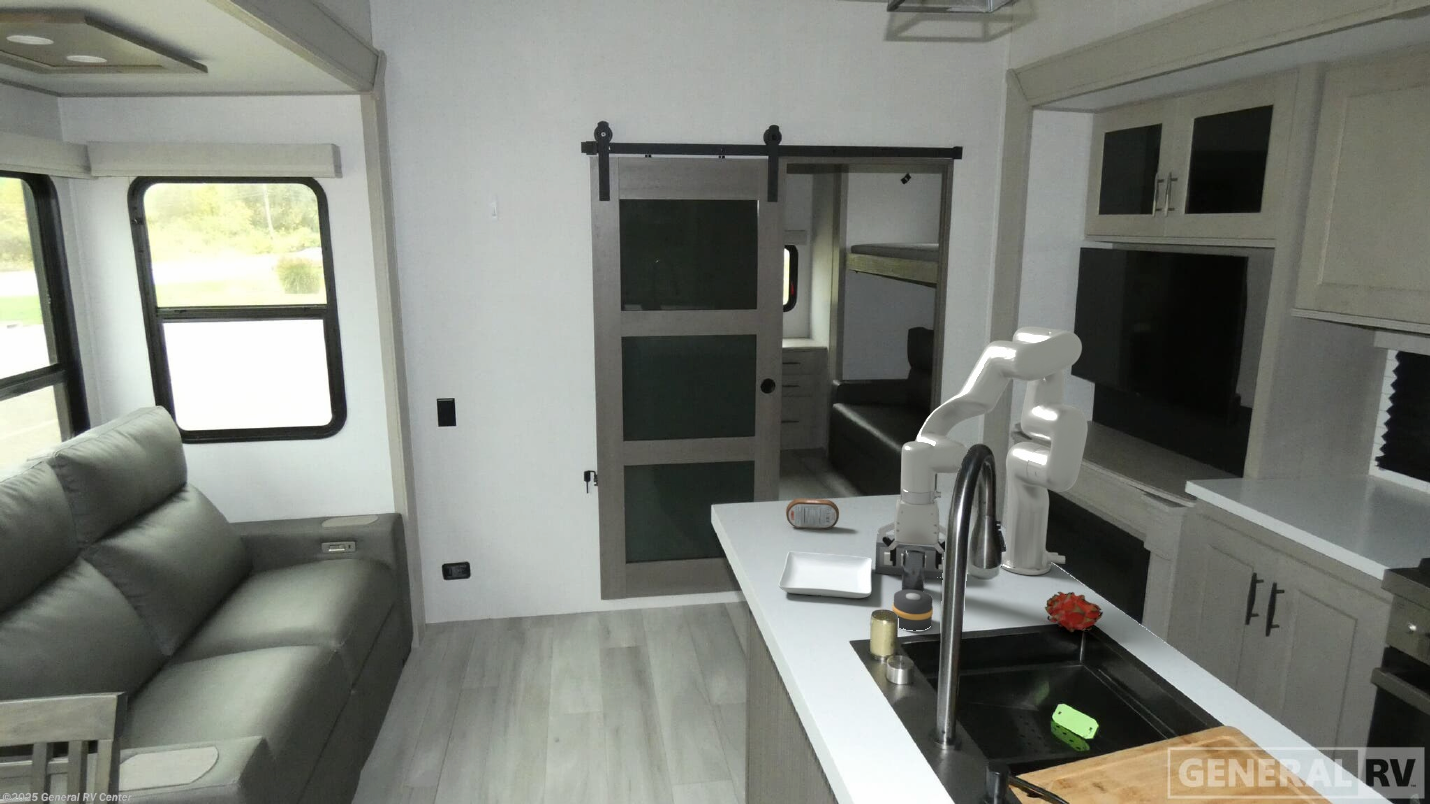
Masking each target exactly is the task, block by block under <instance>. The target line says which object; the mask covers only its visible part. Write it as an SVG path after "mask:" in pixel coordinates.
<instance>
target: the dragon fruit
mask: <svg viewBox="0 0 1430 804" xmlns="http://www.w3.org/2000/svg"><path fill="white" fill-rule="evenodd" d="M1044 609H1045V611H1046V613H1047V614H1048V616H1047V620H1048V621H1049V622H1050V623H1056V622H1057V625H1061V627H1062V628H1063V626H1064V628H1066V630H1067V631H1069V632H1070V633H1073V632H1074V631H1075V630H1079V631H1081V632H1082V631H1083V632H1084V633H1085V632H1086V631H1084V630H1083V629H1084V628H1086V630H1088V631H1091V630H1092V629H1093V628H1092V627H1091V626H1093V625H1095V624H1096V623H1097V622H1098V620H1100V619H1101V618H1102V616H1103V614H1104V611H1101V610H1102V608H1101V607H1100V606H1099V605H1098V604H1095V602H1094V603H1093V602H1089V601H1088V600H1086V596H1085V595H1084V594H1080V595H1076V593H1075V592H1074V591H1072V592H1071V591H1070V592H1069V591H1068V593H1064V592H1062V591H1057V593H1054V595H1052V597H1050V598H1049V599H1047V600H1046V606H1044ZM1050 617H1051V618H1050Z"/></svg>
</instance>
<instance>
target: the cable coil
mask: <svg viewBox="0 0 1430 804" xmlns="http://www.w3.org/2000/svg"><path fill="white" fill-rule="evenodd" d="M933 600H934V599H933V596H932V595H930V593H927V592H925V591H924V592H922V591H919V590H911V589H907V590H902V589H901V590H898V591H896V592H895V593H894V594H893V602H892V613H893V612H894V613H896V614H897V615H898V618H899V628H901V629H903V628H904V629H906V630H913V631H916V630H925V629H927V628H929V627H930V626H931V627H932V622H933V621H932V618H933V613H934V612H933V610H934V607H933ZM899 628H898V629H899ZM901 629H900V630H901Z"/></svg>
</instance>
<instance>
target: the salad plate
mask: <svg viewBox="0 0 1430 804" xmlns="http://www.w3.org/2000/svg"><path fill="white" fill-rule="evenodd" d="M872 567H873V560H872V558H870V557H867V556H857V555H847V554H833V553H824V552H823V553H820V552H819V553H818V552H807V551H806V552H804V551H803V552H802V551H788V552H787V554H786V557H785V561H784V566H783V571H782V573H781V575H780V578H779V580H778V587H779V588H780V590H783V591H784V592H786V593H789V594H797V595H798V594H799V595H805V596H806V595H808V596H818V595H821V596H820V597H832V598H833V597H834V598H845V599H846V598H848V599H849V598H850V599H862V598H867V597H869V596H870V595H871V594H872V589H873V588H872Z"/></svg>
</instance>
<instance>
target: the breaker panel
mask: <svg viewBox="0 0 1430 804" xmlns="http://www.w3.org/2000/svg"><path fill="white" fill-rule="evenodd" d="M886 535H887V536H888V537H889V538H890V539H891V540H892V539H893V538H894V534H887V533H886ZM945 539H946V538H939V541H940V542H941V543H943V542H944V541H945ZM875 541H876V542H875V565H874V566H875V567H874V569H875V571H874V573H875V574H885V575H893V574H894V576H895V575H896V576H902V572H903V549H904V548H905V547H907V546H918V547H922V548H924V549H925V550H926V555H925V575H924V578H926V577H929V578H928V579H937V577H938V579H939V580H943V579H942V573H943V560H944V552H945V550H944V552H943V553H942V565H939V569H935V553H936V548H935V547H934V546H933V545H921V544H906V543H899V544H898V545H897V546H896V566H893V561H890V549H889V547H888V546H887V545H886V544H885V543H884V542H883V541H882V538H881V537H880V535H879V533H877V534H876V539H875ZM940 577H941V579H940Z"/></svg>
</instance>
